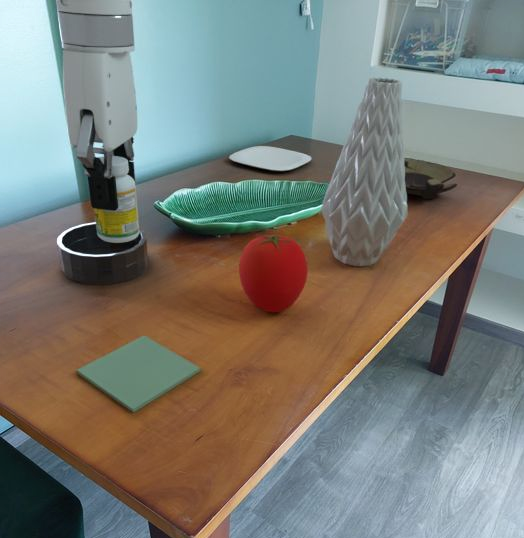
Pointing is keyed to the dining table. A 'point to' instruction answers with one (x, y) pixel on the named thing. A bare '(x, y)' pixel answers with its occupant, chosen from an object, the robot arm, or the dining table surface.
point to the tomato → (273, 272)
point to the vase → (369, 179)
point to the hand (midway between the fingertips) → (114, 198)
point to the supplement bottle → (119, 207)
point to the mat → (138, 372)
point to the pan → (100, 256)
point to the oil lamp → (426, 178)
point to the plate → (270, 158)
